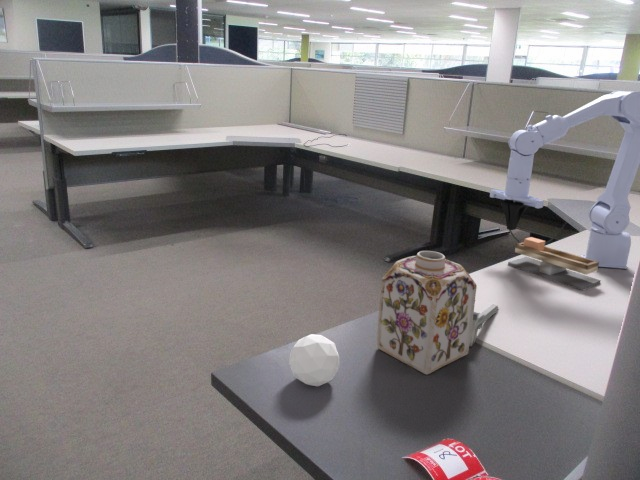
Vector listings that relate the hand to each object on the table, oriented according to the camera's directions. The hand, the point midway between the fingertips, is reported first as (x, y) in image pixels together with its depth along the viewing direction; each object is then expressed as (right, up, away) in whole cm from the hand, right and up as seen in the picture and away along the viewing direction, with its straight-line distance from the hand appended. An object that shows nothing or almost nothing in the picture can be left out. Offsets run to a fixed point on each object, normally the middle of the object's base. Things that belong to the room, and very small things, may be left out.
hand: (511, 229), depth 140 cm
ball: (-51, -25, -57) cm, 81 cm away
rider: (+4, -5, -4) cm, 8 cm away
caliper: (-19, -20, -36) cm, 46 cm away
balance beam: (+7, -11, -8) cm, 16 cm away
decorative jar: (-33, -23, -47) cm, 62 cm away
